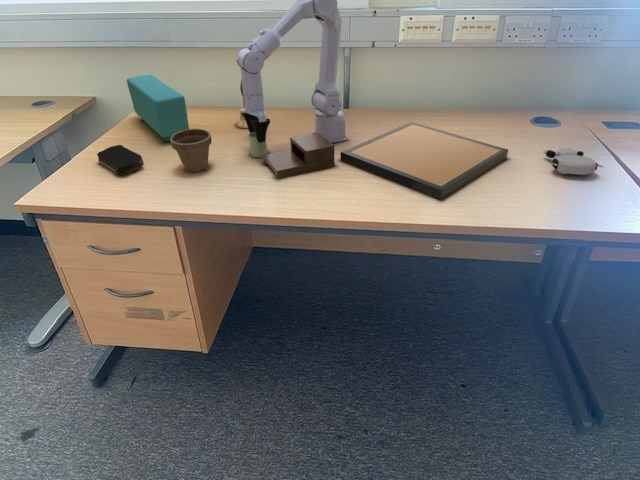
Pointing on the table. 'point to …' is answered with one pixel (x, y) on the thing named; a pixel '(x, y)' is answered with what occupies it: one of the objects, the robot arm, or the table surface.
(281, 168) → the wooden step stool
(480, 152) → the cork board
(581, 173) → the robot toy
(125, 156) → the black sponge
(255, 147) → the pencil cup
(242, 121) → the hand bell
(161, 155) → the table surface
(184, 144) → the flower pot
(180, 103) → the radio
